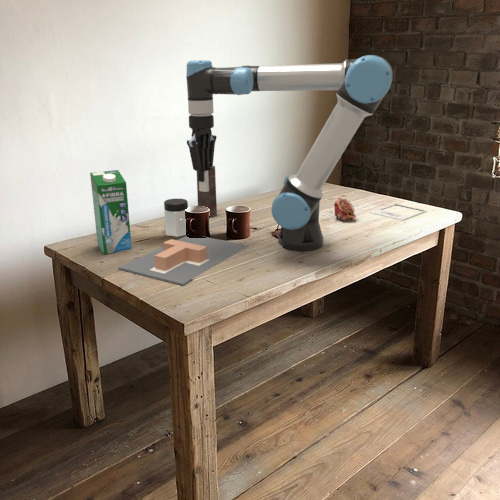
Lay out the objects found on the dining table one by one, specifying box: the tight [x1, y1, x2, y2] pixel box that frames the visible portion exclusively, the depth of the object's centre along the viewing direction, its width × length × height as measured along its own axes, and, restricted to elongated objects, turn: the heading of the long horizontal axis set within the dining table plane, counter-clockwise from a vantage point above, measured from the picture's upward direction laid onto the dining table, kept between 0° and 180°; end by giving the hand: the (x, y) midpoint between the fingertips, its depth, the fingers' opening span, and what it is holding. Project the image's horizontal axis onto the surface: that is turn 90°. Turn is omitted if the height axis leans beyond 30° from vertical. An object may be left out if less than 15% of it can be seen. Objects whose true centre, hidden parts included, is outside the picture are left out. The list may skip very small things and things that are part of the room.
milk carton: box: [89, 169, 132, 255], centre depth 175 cm, size 9×9×25 cm
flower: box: [333, 197, 357, 223], centre depth 207 cm, size 10×9×8 cm
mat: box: [118, 235, 250, 287], centre depth 170 cm, size 24×36×1 cm, turn 150°
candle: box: [196, 165, 218, 218], centre depth 209 cm, size 8×7×20 cm
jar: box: [163, 198, 189, 237], centre depth 190 cm, size 9×8×12 cm
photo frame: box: [369, 203, 428, 222], centre depth 217 cm, size 15×1×18 cm
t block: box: [154, 238, 207, 271], centre depth 165 cm, size 14×14×4 cm
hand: (204, 190), depth 171 cm, fingers closed
